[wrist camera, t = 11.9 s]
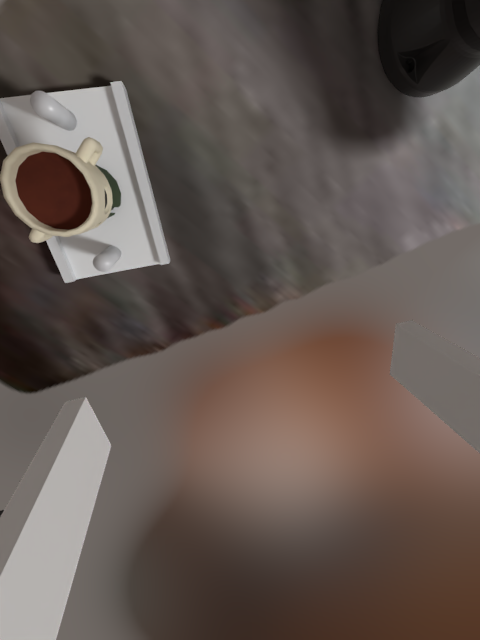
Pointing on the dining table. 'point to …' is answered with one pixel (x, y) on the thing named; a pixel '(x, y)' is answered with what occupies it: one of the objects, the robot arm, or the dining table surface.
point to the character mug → (59, 188)
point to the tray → (117, 158)
